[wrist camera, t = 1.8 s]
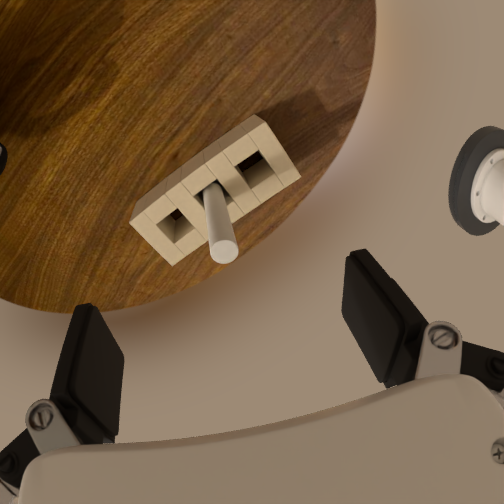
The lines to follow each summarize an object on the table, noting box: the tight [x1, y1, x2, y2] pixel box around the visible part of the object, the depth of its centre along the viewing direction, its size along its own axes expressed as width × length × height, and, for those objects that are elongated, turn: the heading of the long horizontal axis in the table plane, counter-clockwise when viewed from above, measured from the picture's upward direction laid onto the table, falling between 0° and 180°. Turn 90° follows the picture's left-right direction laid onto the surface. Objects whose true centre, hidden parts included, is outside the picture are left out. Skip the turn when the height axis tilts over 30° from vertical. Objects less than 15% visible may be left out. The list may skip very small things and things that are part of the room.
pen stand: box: [129, 114, 301, 266], centre depth 30 cm, size 15×6×5 cm, turn 123°
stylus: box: [202, 179, 238, 264], centre depth 26 cm, size 2×2×14 cm
